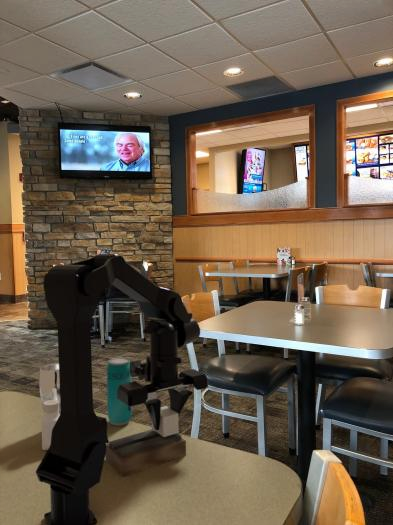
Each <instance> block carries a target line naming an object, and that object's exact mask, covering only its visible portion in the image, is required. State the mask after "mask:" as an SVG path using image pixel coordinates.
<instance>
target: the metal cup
mask: <svg viewBox="0 0 393 525" xmlns="http://www.w3.org/2000/svg"><path fill="white" fill-rule="evenodd" d="M38 382H39V387H38V388H39V395H40V401H41V406H42V407H43V403H44V402H45V401H48V400H58V401H59V414H60V413H61V406H60V379H59V362H54V363H48V364H45V365H42V366H40V368H39V381H38Z"/></svg>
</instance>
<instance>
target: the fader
mask: <svg viewBox="0 0 393 525" xmlns="http://www.w3.org/2000/svg"><path fill="white" fill-rule="evenodd" d="M151 429H153V430H154V431H156V432H157V433H159V434H160V435H161V436H163V437H166V436H169V435H173V434H176V433H178V434H179V417H178V413H177V412H175V411H173V410H172V409H170V407H168V406H166V405H165V406H161V412H160V426H159V430H156V429H155V428H154V426H153V423H152V422H151Z"/></svg>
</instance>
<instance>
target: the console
mask: <svg viewBox="0 0 393 525" xmlns="http://www.w3.org/2000/svg"><path fill="white" fill-rule="evenodd" d="M186 455H187V441H186V439H184V438H183V437H182V435H181V434H179V433H176V434H173V435H169V436H166V437H163V436H161V435H160V434H159V433H157V432H156V431H154V430H153V429H152V428H151V429H149V430H144V431H142V432H138V433H133V434H131V435H128V436H124V437H120V438H117V439H113V440H110V441H109V443H106V454H105V459H104V460H106V461H107V462H108V464H109V465H110V466H111V467H112V468H113V469H114V470H115V471H116V472H117V473H118V474H119V475H120V476H121V477H122V478H123V477H125V476H129V475H132V474H134V473H135V474H136V473H137V472H140V471H143V470H147V469H150V468H153V467H155V466H159V465H161V464H164V463H167V462H170V461H173V460H176V459H179V458H181V457H185V456H186Z"/></svg>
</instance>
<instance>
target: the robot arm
mask: <svg viewBox="0 0 393 525" xmlns="http://www.w3.org/2000/svg"><path fill="white" fill-rule="evenodd" d="M111 286H113V287H115V288H116V289H118V290H119V291H120V292H122V293H123V294H125V295H127V297H129V298H131V299H132V300H134V301H135V302H137V303H138V308H139V310H140V311H141V312H142V313H143V315H144V316H146V318H148V319H152V320H149V323H148V324H147V326H145V327H144V329H143V330H142V333H143V334H147V335H149V355H146V362H145V363H142V362H141V360H139V359H138V360H134V361H130V375H131V378H134V377H138V381H141V380H142V381H143V380H144V381H145V382H146V383H148V382H149V384H145V385H142V384H141V383H139V382H138V381H131V382H130V383H125V384H121V385H120V386H119V388H118V390H117V398H118V399H119V400H121V401H122V402H123V403H125V404H126V405H128V406H132V407H135V406H139V405H144V407H145V408H146V409H147V412H148V415H149V417H150V419H151V424H152V423H153V426H154V428H155V429H156V430H159V426H160V412H161V407H162V401H161V400H160V399H159V398H158V393H161V392H165V391H168V395H169V399H170V400H169V405H170V406H169V408H170V409H172V410H173V411H175V412H177V413H178V418H179V417H180V416H181V413H182V411H183V409H184V407H185V405H186V403H187V401H188V400H189V398H190V397H191V396H193V395H194V392H193V391H191V390H190V385H192V387H193V388H194V389H195V390H197V391H199V390H204V389H208V388H209V378H208V376H207V375H206V374H205V373H204V372H201V371H199V370H196V369H194V368H193V369H188V370H183V371H180V373H179V364H182V358H181V357H178V355H179V353H178V352H179V351H178V349H179V348H182V347H184V346H186V345H188V344H189V345H190V344H192V343H194V342H196V341H197V340H199V338H200V335H201V328H200V325H199V324H198V322H197V320H196V319H194V318H193V313H192V312H188V310H187V308H186V305H185V303H184V302H183V298H182V297H181V295H180V293H178V292H176V291H174V290H172V289H169V288H165V287H161V286H158V285H156V284H155V283H154V282H152V281H151V280H150V279H149V278H147V277H146V276H145V275H144V274H143V273H141V272H140V271H138V270H137V269H136V268H134V267H133V266H132V265H131V264H129V263H128V262H126V259H125V258H124V257H123V256H122V255H120V254H118V253H98V254H97V255H94V256H92V257H90V258H86V259H84V260H80V261H76V262H72V263H68V264H55V265H53V266H51V267H50V269H49V270H48V271H47V273H45V274H44V277H43V291H44V296H45V302H46V306H47V308H48V309H49V311H50V313H51V314H52V317H53V319H55V322H56V326H57V344H58V345H57V347H58V349H57V350H58V363H59V379H60V406H61V413H60V416H59V418H58V419H57V421H56V423H55V425H54V427H53V429H52V435H51V445H50V447H49V449H48V450H46V452H45V454H44V456H43V457H42V459H41V461H40V463H39V465H38V466H37V467H36V470H35V474H36V477H37V479H38V481H39V482H40V483H45V484H48V485H49V487H50V488H49V489H50V493H49V494H50V496H49V497H50V511H48V512H46V513H44V515H43V519H44V521H45V522H46V525H96V524H98V518H97V516H96V515H95V514H94V512H93V511H92V509H91V508H90V489H92V488H93V487H95V486H97V485H98V484H99V483H100V482H101V479H102V478H101V477H102V473H103V468H104V463H105V460H106V459H105V454H106V444H109V442H110V441H109V438H108V427H109V426H108V425H109V424H108V420H107V418H106V417H102V416H99V415H97V414H96V412H95V410H94V398H93V397H94V394H93V392H94V390H93V366H92V363H93V362H92V359H93V358H92V334H91V333H92V332H91V323H92V322H91V321H92V319H93V317H94V315H95V313H96V311H97V310H98V307H99V306H100V302H101V292H103V291H105V290H106V289H108V288H110V287H111Z"/></svg>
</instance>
